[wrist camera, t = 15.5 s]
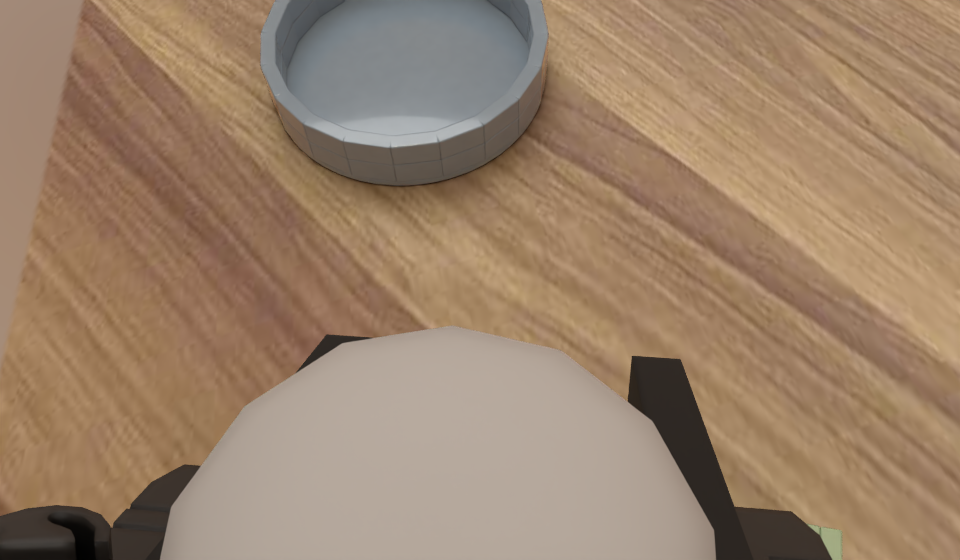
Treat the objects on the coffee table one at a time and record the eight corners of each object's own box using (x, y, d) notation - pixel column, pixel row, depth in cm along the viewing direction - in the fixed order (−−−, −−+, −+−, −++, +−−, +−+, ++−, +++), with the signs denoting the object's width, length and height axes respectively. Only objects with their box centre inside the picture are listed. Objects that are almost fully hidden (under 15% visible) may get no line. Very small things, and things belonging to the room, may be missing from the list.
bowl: (237, 164, 35) (219, 124, 32) (318, -32, 40) (308, -77, 38) (519, 205, 33) (519, 166, 31) (564, -4, 38) (567, -49, 36)
